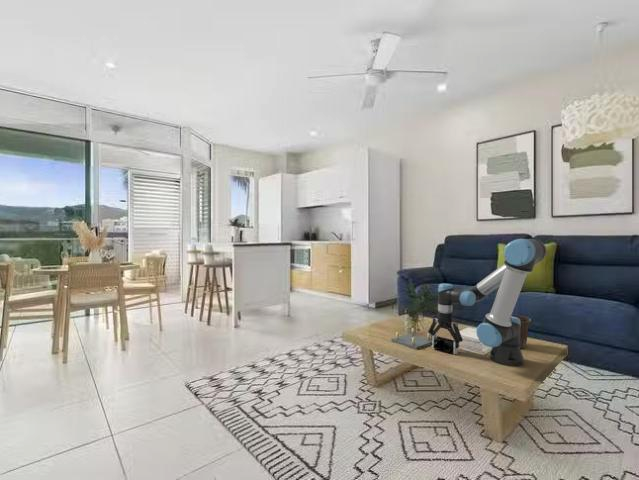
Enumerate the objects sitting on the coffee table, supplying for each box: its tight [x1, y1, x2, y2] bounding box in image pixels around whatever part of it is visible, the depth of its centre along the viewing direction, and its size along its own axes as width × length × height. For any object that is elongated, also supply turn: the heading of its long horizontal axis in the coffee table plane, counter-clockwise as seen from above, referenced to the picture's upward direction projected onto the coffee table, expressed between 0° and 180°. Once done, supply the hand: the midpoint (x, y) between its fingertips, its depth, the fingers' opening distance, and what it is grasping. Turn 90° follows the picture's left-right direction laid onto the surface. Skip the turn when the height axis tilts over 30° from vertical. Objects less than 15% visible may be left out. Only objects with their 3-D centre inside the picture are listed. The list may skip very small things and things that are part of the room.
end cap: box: [433, 335, 455, 355], centre depth 184 cm, size 10×7×7 cm
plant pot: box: [511, 314, 531, 349], centre depth 193 cm, size 16×16×16 cm
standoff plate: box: [390, 327, 432, 351], centre depth 198 cm, size 18×18×6 cm
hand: (444, 350), depth 185 cm, fingers open, 12 cm apart
